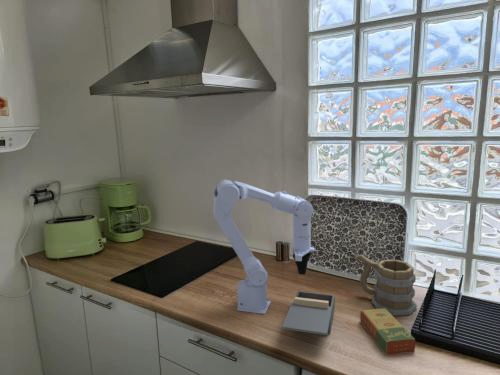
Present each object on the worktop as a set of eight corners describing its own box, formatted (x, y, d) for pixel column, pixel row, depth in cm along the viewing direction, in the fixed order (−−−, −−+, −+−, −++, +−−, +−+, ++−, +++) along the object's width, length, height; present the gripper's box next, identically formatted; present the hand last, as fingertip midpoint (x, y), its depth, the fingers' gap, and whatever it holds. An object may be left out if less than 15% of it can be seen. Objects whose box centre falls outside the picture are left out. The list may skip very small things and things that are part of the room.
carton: (385, 320, 109) (386, 307, 108) (415, 353, 93) (416, 338, 93) (359, 322, 108) (360, 309, 107) (385, 356, 92) (386, 341, 92)
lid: (282, 328, 96) (281, 320, 96) (292, 303, 109) (292, 296, 109) (327, 335, 93) (327, 327, 92) (332, 308, 106) (332, 301, 105)
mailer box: (289, 327, 106) (289, 312, 105) (297, 304, 119) (297, 290, 118) (330, 333, 102) (330, 317, 101) (334, 309, 115) (334, 295, 114)
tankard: (420, 304, 117) (423, 261, 114) (405, 320, 108) (407, 274, 105) (363, 286, 130) (364, 247, 128) (346, 299, 122) (346, 257, 119)
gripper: (310, 242, 109) (310, 284, 112) (317, 229, 123) (317, 266, 125) (288, 241, 112) (288, 281, 114) (296, 228, 125) (297, 264, 128)
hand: (302, 273), depth 120 cm, fingers closed
